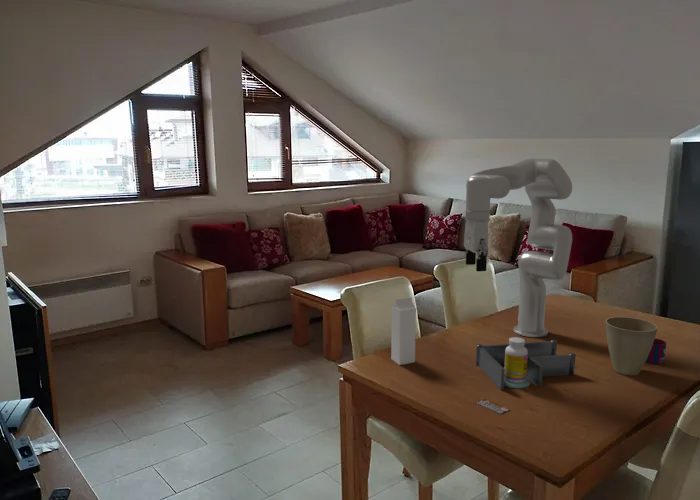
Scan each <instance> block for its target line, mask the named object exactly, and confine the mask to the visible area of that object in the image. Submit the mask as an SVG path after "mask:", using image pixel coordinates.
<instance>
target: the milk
mask: <svg viewBox="0 0 700 500" xmlns="http://www.w3.org/2000/svg"><path fill="white" fill-rule="evenodd" d="M412 300H413V299H412V297H411V296H409V297H402V298H396V299H395V303H394V304H392V305H391V344H390V345H391V348H390V349H391V351H390V354H391V355H390V357H391V361H394V363H396V364H397V365H399V366H403V365H408V364H413V363H416V322H417V321H416V318H417V317H416V313H417V312H416V311H417V310H416V306H415V305H414V303H413V301H412Z"/></svg>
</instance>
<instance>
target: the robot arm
mask: <svg viewBox="0 0 700 500" xmlns="http://www.w3.org/2000/svg"><path fill="white" fill-rule="evenodd" d="M465 188H466V195H465V196H466V197H465V226H464V227H465V228H464V237H463V238H464V239H463V247H464V248H465V265H468V266H469V265H473V266H474V265H475V264H476V265H475V266H476V267H475V269H476V270H475V271H476V272H486V271H487V263H488V262H487V260H488V254H489V253H488V251H489V223H488V222H489V221H490V214H491V213H490V212H491V199H494V200H495V199H496V200H497V199H498V200H499V199H504V198H505V197H506V196H508V195H509V193H510V191H513V190H518V189H521V188H524V190H525V193H526V194H527V197H528V199H529V201H530V203H531V204H530V205H531V217H530V222H529V228H528V234H527V243H528V245H530V246H531V247H532V248H537V249H543V250H550V251H553V253H548V252H543V251H536V250H527V251H524V252H523V253H521V254H520V256H519V258H518V265H517V266H518V272H519V296H518V297H519V299H518V317H517V321H518V322H517V325H515V326H513V332H514V333H515V334H517V335H519V336H524V337H526V338H527V337H528V338H542V337H546V336H547V335H549V334H548V333H549V329H547V328H546V327H545V314H546V299H547V298H546V296H547V288H546V287H547V286H546V283H545V281H544V280H550V281H561V280H563V279H564V278H565V276H566V275H567V271H568V265H569V261H570V256H571V249H572V244H573V233H572V230H571V229H570V227H568V226H566V225H562V224H555V221H556V215H557V212H556V207H555V205H554V203H553V201H552V200H558V201H561V200H566V199H568V198H569V197H570V196H571V194H572V192H573V183H572V180H571V178H570V176H569V175H568V173H567V172H566V170H565V168H564V167H563V166H562V165H561V164H560V163H559V162H558V161H557V160H555V159H553V158H527V159H524V160H522V161H519V162H515V163H513V164H511V165H505V166H501V167H495V168H488V169H483V170H481V171H478V172H475V173H473V174H472V175H470V176H469V178H467V181H466V184H465ZM476 257H477V258H476Z"/></svg>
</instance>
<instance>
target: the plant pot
mask: <svg viewBox="0 0 700 500" xmlns="http://www.w3.org/2000/svg"><path fill="white" fill-rule="evenodd" d="M657 331H658V326H657V324H655V323H653V322H652V321H648V320H646V319H641V318H637V317H631V316H630V317H628V316H612V317H608V318H606V320H605V333H606V340H607V347H608V352H609V357H610V361H611V364H612V368H613V371H615V372H616V373H619V374H621V375H626V376H637V375H639V374H640V372H641V370H642V369H643V368H644V365H645V364H646V363H647V362H646V360H647V357H648V355H649V353H650V350H651V348H652V345H653V342H654V339H655V338H656V336H657Z"/></svg>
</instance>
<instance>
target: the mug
mask: <svg viewBox="0 0 700 500" xmlns="http://www.w3.org/2000/svg"><path fill="white" fill-rule="evenodd" d="M666 349H667V341H665V340H663V339H660V338H656V337H655V339H654V342H653V345H652V348H651V350H650V353H649V355H648V357H647V360H646V362H645V363H647V364H653V365H662V364H665V360H666V359H665V357H666Z"/></svg>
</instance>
